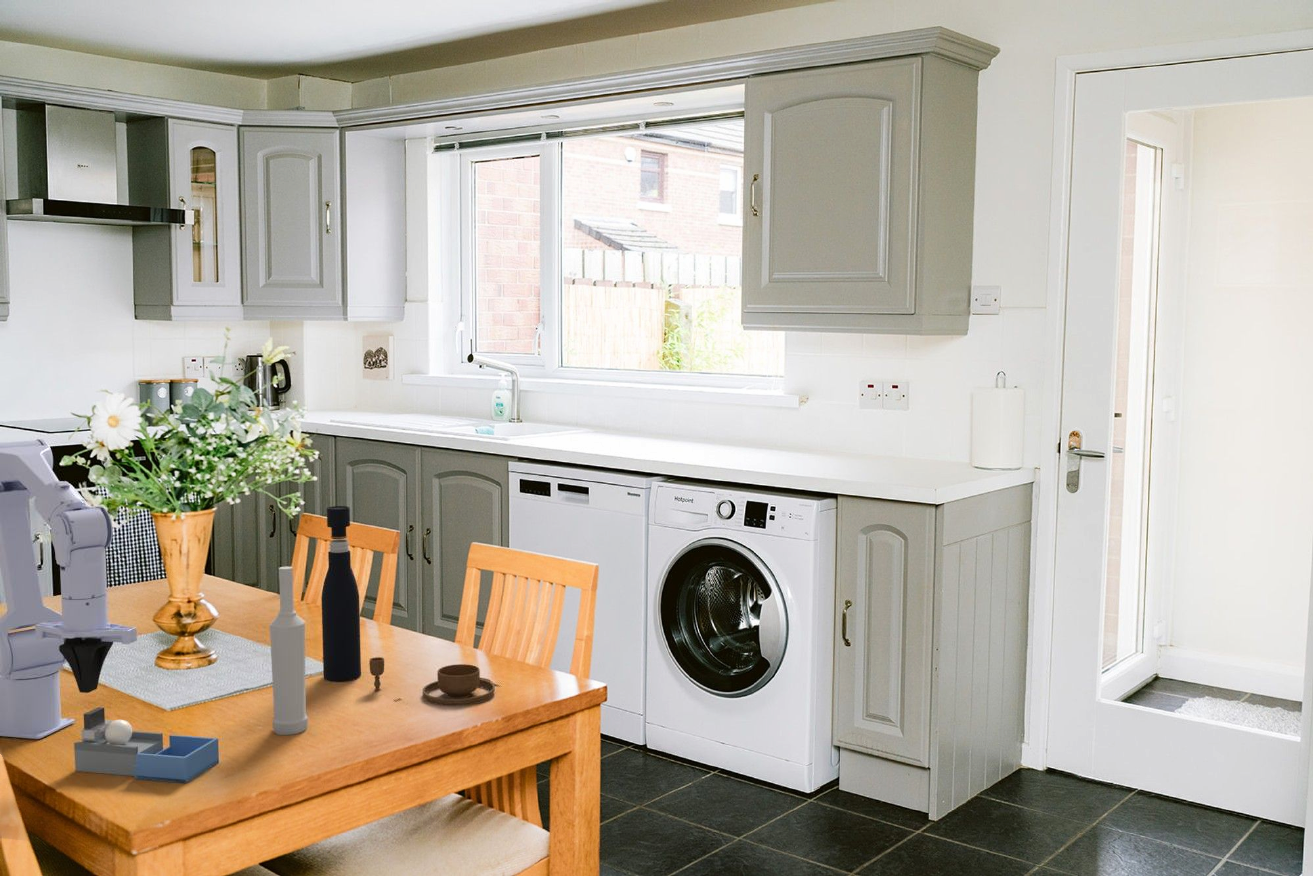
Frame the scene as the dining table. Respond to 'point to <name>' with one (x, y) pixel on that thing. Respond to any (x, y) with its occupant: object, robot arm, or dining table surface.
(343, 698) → the dining table surface
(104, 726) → the grey angular hollow piece
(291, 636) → the bottle
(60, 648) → the robot arm
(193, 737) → the open box
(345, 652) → the wine bottle
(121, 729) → the ball
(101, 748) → the open gray tray
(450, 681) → the place setting
